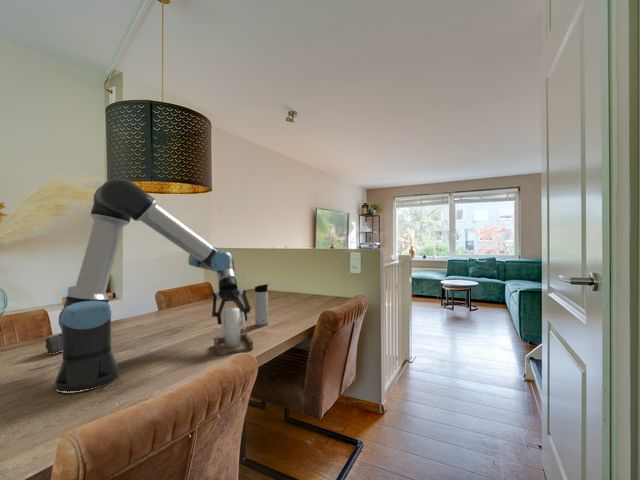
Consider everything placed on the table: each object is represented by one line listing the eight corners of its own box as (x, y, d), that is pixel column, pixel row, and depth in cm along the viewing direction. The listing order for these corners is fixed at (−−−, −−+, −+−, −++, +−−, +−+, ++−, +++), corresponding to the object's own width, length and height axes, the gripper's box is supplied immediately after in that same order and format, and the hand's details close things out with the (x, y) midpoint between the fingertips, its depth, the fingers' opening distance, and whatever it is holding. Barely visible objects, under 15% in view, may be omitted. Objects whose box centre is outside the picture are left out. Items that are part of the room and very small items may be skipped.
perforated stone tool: (76, 343, 125) (76, 327, 125) (88, 343, 125) (87, 327, 125) (39, 357, 110) (38, 339, 110) (51, 358, 110) (51, 339, 110)
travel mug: (265, 326, 145) (265, 285, 145) (253, 326, 146) (252, 285, 146) (270, 323, 151) (270, 283, 151) (258, 322, 152) (257, 283, 152)
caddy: (217, 355, 109) (217, 347, 109) (214, 345, 120) (213, 338, 120) (252, 349, 115) (252, 342, 115) (246, 340, 125) (246, 333, 125)
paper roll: (225, 348, 113) (224, 311, 113) (223, 343, 119) (222, 308, 119) (241, 345, 116) (240, 309, 116) (239, 341, 121) (237, 306, 121)
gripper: (249, 285, 135) (258, 330, 121) (201, 289, 127) (205, 338, 112) (252, 275, 131) (261, 320, 116) (202, 278, 122) (206, 328, 107)
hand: (234, 329), depth 114 cm, fingers open, 7 cm apart
